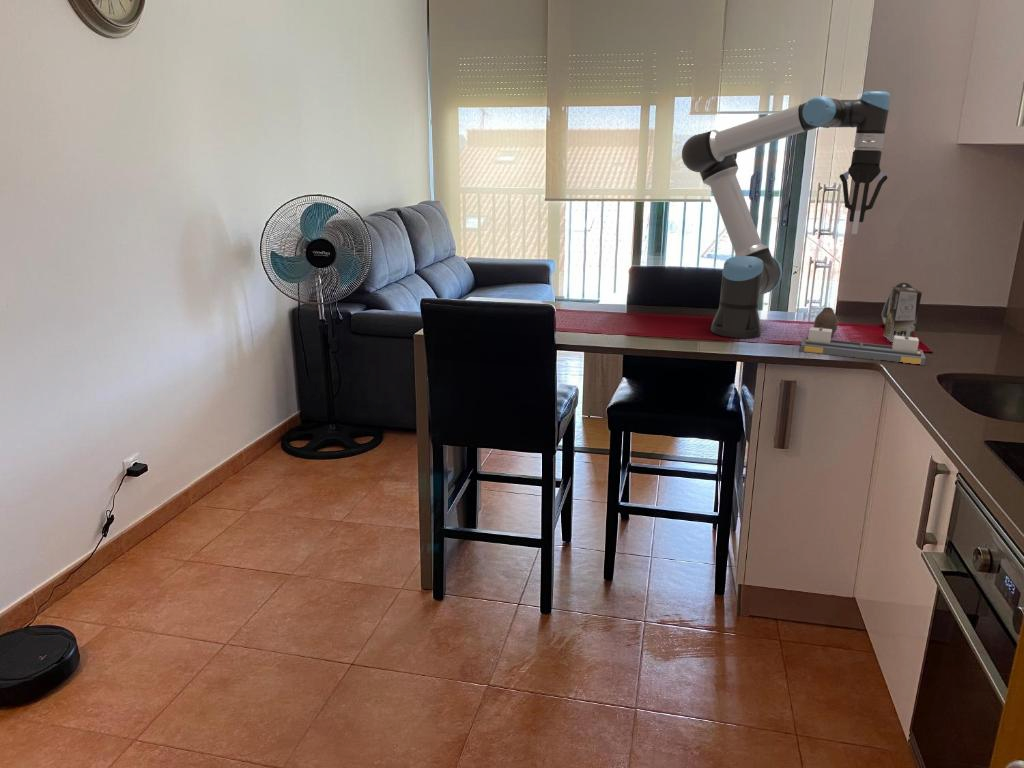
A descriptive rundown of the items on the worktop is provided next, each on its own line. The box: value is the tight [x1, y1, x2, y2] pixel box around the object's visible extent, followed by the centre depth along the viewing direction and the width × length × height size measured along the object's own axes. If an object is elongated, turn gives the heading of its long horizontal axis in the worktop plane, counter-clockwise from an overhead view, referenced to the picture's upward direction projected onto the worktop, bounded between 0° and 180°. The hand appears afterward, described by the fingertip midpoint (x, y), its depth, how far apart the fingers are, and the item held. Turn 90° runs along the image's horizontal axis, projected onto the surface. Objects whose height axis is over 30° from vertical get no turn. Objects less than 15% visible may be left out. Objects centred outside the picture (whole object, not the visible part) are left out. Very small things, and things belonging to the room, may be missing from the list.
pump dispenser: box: [881, 281, 914, 325], centre depth 247 cm, size 10×10×15 cm
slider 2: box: [891, 335, 920, 353], centre depth 210 cm, size 6×4×4 cm, turn 67°
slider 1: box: [807, 326, 832, 344], centre depth 218 cm, size 6×4×4 cm, turn 67°
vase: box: [813, 306, 839, 337], centre depth 236 cm, size 7×7×9 cm
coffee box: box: [883, 286, 923, 343], centre depth 229 cm, size 9×6×16 cm
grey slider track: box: [800, 336, 927, 366], centre depth 215 cm, size 32×10×3 cm, turn 67°
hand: (854, 233), depth 221 cm, fingers closed
